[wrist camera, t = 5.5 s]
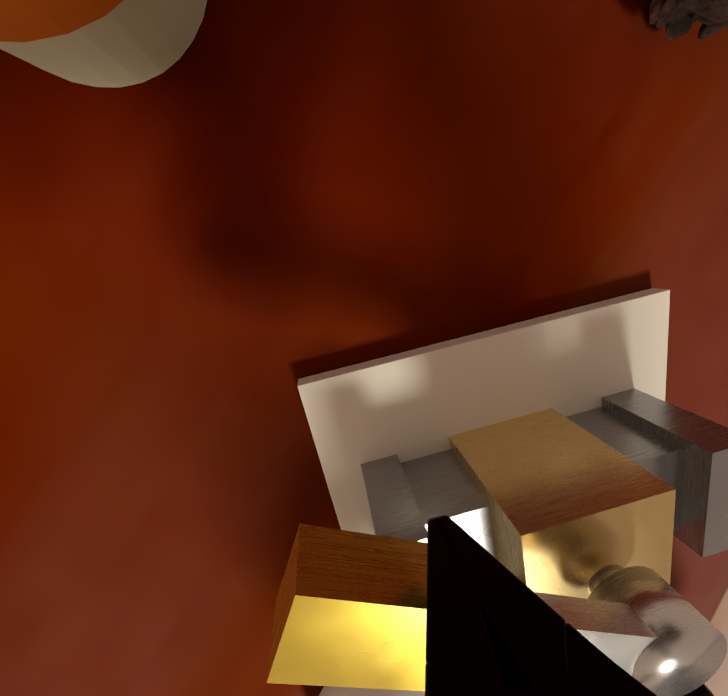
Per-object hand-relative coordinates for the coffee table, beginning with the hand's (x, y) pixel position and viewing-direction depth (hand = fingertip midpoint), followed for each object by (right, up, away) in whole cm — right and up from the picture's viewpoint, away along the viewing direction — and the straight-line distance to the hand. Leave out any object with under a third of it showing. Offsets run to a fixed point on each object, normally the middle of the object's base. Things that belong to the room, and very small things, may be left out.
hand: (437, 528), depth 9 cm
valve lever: (+2, -3, +3) cm, 5 cm away
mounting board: (+6, -1, +12) cm, 13 cm away
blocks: (+6, -2, +12) cm, 13 cm away
